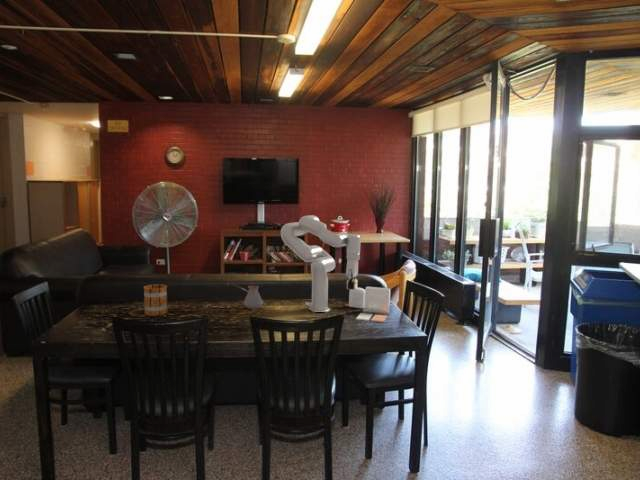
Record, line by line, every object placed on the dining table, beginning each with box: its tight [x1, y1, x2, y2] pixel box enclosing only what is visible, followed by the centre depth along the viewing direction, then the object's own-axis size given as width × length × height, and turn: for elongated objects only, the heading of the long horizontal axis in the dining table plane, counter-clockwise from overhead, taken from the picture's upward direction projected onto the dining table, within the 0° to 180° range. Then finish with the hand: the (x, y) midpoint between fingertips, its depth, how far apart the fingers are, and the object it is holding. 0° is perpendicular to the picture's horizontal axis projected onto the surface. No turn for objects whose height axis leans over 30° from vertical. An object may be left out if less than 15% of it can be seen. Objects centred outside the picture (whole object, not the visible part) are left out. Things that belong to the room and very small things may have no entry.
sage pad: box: [355, 312, 374, 322], centre depth 281 cm, size 7×12×1 cm, turn 162°
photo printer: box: [348, 286, 365, 310], centre depth 303 cm, size 10×4×12 cm, turn 67°
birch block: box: [346, 278, 358, 290], centre depth 281 cm, size 5×5×5 cm
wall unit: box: [361, 286, 393, 316], centre depth 292 cm, size 16×8×14 cm, turn 72°
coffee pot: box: [227, 281, 264, 310], centre depth 297 cm, size 21×12×15 cm, turn 87°
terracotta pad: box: [370, 314, 388, 323], centre depth 278 cm, size 7×12×1 cm, turn 162°
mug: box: [143, 283, 168, 316], centre depth 284 cm, size 20×14×15 cm
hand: (352, 287), depth 281 cm, fingers closed on birch block, 5 cm apart
